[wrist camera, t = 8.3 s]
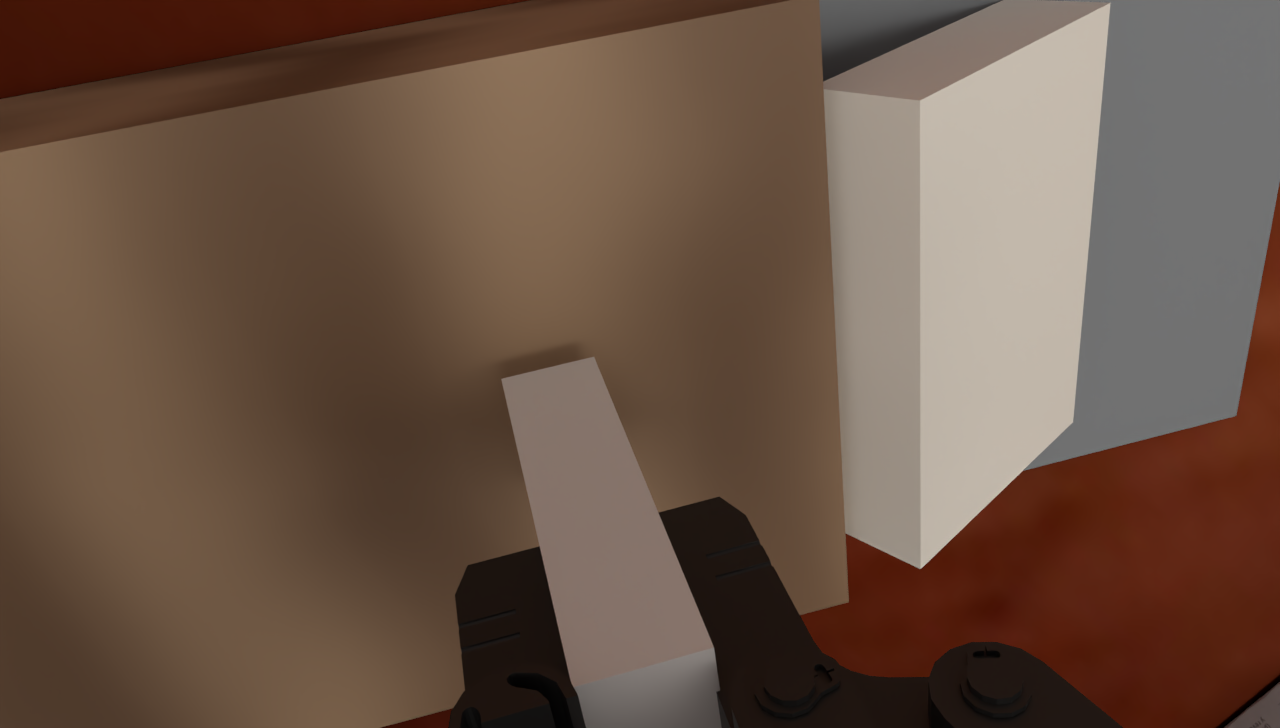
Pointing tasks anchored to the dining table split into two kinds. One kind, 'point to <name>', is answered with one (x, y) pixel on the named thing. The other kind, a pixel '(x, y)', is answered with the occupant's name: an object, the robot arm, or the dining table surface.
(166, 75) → the tan wooden block
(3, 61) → the dining table surface
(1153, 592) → the dining table surface
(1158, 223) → the mat
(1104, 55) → the cream rectangular slab block
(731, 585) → the robot arm
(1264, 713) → the coffee box
